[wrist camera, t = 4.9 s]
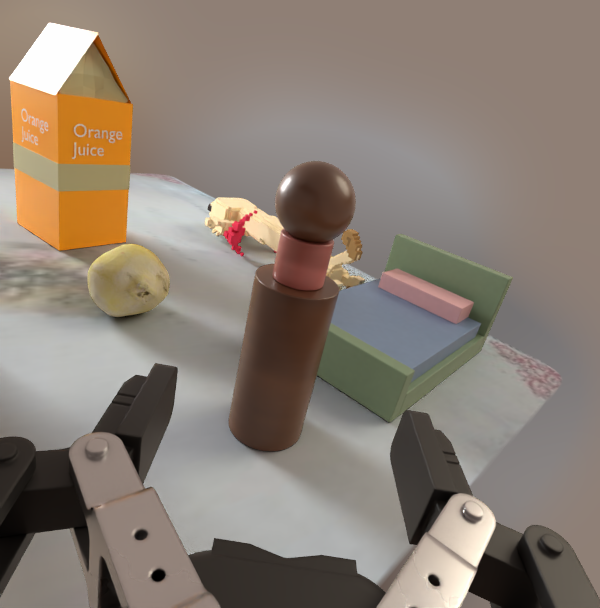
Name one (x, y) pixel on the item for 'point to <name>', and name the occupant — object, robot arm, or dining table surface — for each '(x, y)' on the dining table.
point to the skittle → (291, 309)
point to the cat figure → (274, 234)
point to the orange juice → (71, 141)
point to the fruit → (128, 281)
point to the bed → (386, 370)
